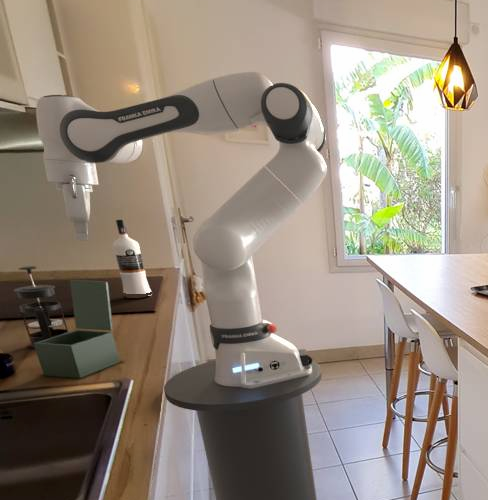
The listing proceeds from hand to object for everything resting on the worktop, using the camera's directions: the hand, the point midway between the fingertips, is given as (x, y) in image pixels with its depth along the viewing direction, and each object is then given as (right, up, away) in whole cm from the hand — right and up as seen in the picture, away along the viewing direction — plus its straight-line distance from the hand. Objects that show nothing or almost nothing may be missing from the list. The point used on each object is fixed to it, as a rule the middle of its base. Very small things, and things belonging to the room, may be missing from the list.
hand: (83, 238), depth 126 cm
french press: (-40, -22, +37) cm, 59 cm away
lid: (-15, -13, +20) cm, 28 cm away
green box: (-17, -30, +20) cm, 39 cm away
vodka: (-56, 0, +93) cm, 108 cm away
